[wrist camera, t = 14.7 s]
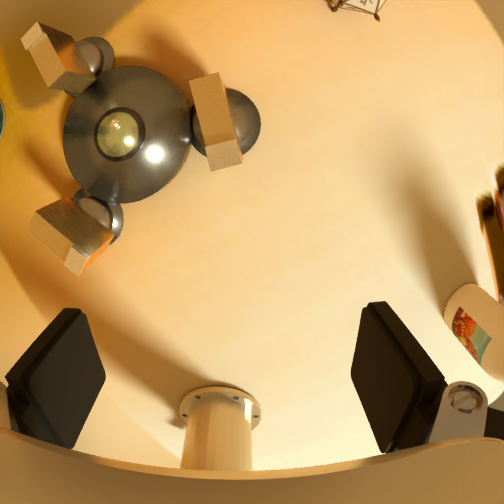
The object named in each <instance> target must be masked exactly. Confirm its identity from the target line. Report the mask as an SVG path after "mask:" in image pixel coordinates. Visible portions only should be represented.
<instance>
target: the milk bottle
mask: <svg viewBox="0 0 504 504" xmlns="http://www.w3.org/2000/svg"><path fill="white" fill-rule="evenodd" d="M444 320H445V323H446V325H447V326H448V328H449V329H450V330H451V331H452V332H453V334H454V335H455V336H456V337H457V338H458V340H459V341H460V342H461V343H462V344H463V346H464V347H465V348H466V349H467V350H468V352H469V353H470V354H471V355H472V357H473V358H474V359H475V360H476V361H477V363H478V364H479V365H480V366H481V367H482V368H483V370H484V371H485V372H486V373H487V374H488V375H490V376H491V377H493V378H494V379H496V380H499V381H502V382H504V307H503V306H502V305H500V304H499V303H498V302H497V301H496V300H495V299H494V298H492V297H491V296H490V295H489V294H488V293H487V292H485V291H484V290H483V289H482V288H481V287H479V286H478V285H476V284H466V285H463V286H462V287H460V288H459V289H458V290H456V291H455V292H454V293H453V295H452V296H451V297H450V299H449V301H448V302H447V305H446V307H445V311H444Z"/></svg>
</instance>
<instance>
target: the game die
mask: <svg viewBox="0 0 504 504" xmlns="http://www.w3.org/2000/svg"><path fill="white" fill-rule="evenodd" d="M331 1H332V2H333V4H334V5H335V7H333V8H332V9H333V12H335V11H337V10H338V8H343V9H349V10H354V11H359V12H364V13H368V14H373V15H374V18H375V19H376V20H377V21H379V22H380V18H379V16H378V15H377V13H378V11H379V10H380V8H381V7H382V6H383V4H384V3H385V1H386V0H331Z"/></svg>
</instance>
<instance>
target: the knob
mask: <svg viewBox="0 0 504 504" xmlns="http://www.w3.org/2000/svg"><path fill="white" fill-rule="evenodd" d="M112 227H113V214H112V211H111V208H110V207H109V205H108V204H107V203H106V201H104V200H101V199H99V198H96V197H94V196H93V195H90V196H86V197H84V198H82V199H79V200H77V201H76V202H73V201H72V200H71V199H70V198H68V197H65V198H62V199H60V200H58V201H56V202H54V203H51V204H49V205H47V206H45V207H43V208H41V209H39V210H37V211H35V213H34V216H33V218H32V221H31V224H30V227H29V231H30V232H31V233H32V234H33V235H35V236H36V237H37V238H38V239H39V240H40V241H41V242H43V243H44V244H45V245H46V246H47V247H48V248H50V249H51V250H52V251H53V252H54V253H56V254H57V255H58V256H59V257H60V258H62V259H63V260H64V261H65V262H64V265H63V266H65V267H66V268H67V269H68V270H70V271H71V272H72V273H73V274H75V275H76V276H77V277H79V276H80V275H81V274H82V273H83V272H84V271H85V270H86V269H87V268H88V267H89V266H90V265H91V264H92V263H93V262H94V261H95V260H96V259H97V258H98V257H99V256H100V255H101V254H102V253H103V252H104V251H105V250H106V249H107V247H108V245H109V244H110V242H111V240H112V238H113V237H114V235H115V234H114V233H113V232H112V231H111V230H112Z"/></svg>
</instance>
